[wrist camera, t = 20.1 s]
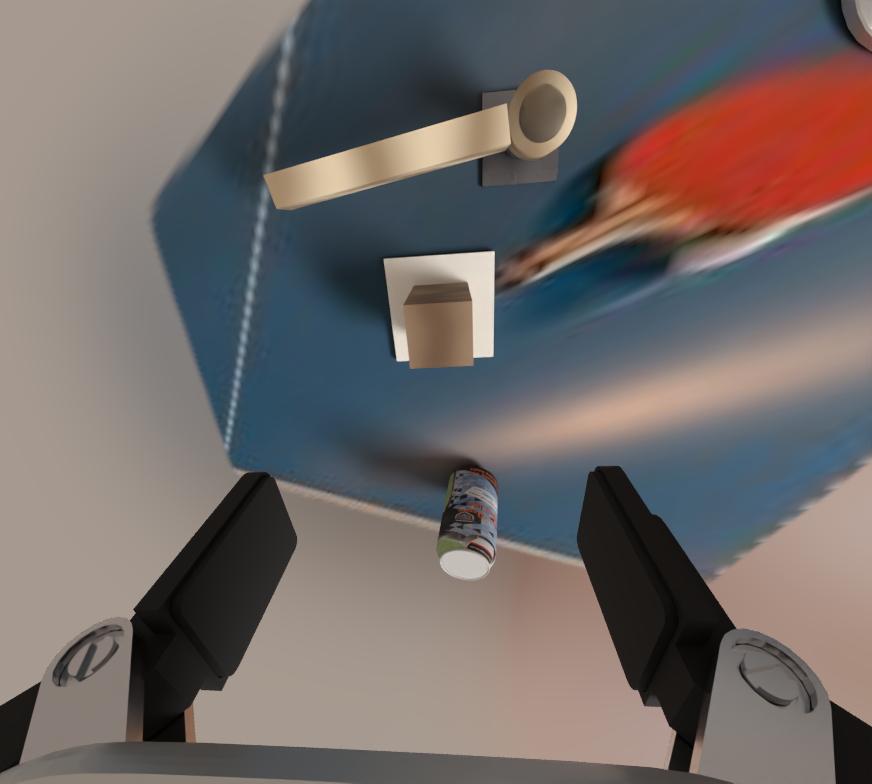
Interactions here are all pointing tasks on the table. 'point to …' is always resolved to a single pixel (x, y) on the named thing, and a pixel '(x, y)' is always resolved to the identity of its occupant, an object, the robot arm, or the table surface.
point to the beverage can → (469, 524)
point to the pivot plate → (508, 169)
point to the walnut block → (439, 325)
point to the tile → (443, 271)
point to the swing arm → (439, 145)
